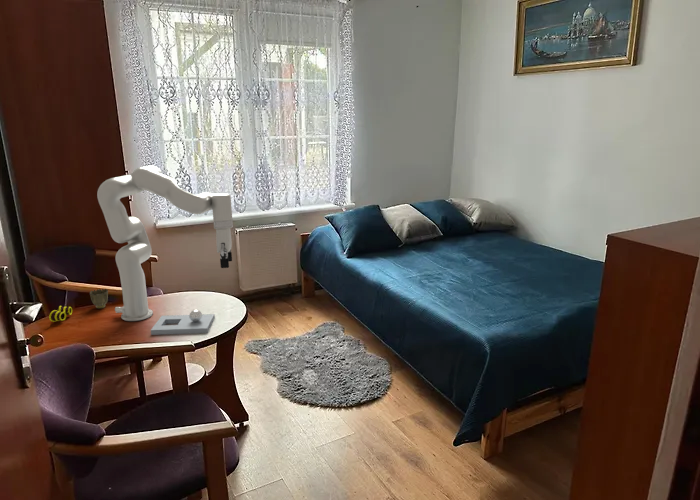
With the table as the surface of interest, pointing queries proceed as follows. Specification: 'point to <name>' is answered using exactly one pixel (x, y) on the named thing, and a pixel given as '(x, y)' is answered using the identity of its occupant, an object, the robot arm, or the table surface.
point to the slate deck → (182, 324)
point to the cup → (99, 298)
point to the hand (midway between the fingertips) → (226, 264)
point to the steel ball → (195, 315)
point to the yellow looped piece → (60, 314)
